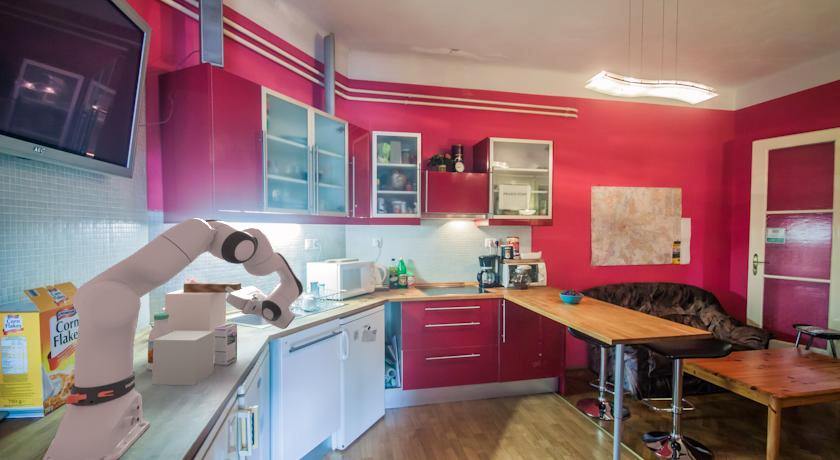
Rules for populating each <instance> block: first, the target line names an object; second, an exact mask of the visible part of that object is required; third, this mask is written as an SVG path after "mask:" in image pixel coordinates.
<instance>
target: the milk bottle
mask: <svg viewBox="0 0 840 460" xmlns="http://www.w3.org/2000/svg"><path fill="white" fill-rule="evenodd" d="M168 319H169V314H168V313H165V312H163V313H156V314H154V315H153V321H154V323H153V327H152V328H151V330H150V332H149V335H148V339H147V340H148V341H147V342H148V343H147V370H148V371H152V372H153V340H154V339H157V338H159V337H162V336H164V335H166V334H169V333H171V332H173V331H172V329H171V327H170V326H169V323H168Z"/></svg>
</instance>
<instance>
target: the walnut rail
mask: <svg viewBox="0 0 840 460" xmlns="http://www.w3.org/2000/svg"><path fill="white" fill-rule="evenodd" d="M227 286H230V287H232V289H233V290H236V291H238V290H241V287H242V283H241V282H186V283H183V289H184V292H216V293H226V294H229V292H227V291H226V290H225V288H226V287H227Z"/></svg>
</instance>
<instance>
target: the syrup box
mask: <svg viewBox="0 0 840 460" xmlns="http://www.w3.org/2000/svg"><path fill="white" fill-rule="evenodd" d="M237 360H238V324H236V323H226V324H224V325H221V326H218V327H215V328H214V365H221V366H222V365H223V366H228V365H229V364H231V363H233V362H235V361H237Z"/></svg>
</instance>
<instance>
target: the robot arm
mask: <svg viewBox="0 0 840 460" xmlns="http://www.w3.org/2000/svg"><path fill="white" fill-rule="evenodd" d="M204 253H209V254H210V255H212V256H214V257H215V258H218V259H221V260H224V261H225V262H227V263H230V264H236V265H240V264H242V266H243V267H244V269H245V271H246V272H247V273H248V274H250V275H253V276H255V277H266V276H268V275H272V273H277V274H278V277H280V280H279V282H278V284H277V285H276V286H274V288H273V289H272V291H270V292H269V293H268V294H265V293H264V292H263V291H262V290H261V289H259V288H258V287H256V286H254V285H250V286H247V287H244V286H241V290H238V291H236V290H233V289H232V287H230V286H227V287H226V288H225V290H226V291H227V292H229V293H228V295H227V296H226V303H228V304H229V305H230V306H232V307H234V308H235V309H237V310H239V311H241V313H242V314H244V315H245V316H246V315H247V316H248V315H251V316H252V315H254V316H256V317H259V318H262V319H263V320H265V322H266V323H268V324H270V325H271V326H273V327H276V328H278V329H281V330H284V329H286V328H288V327H289V326H290V324H291V323H292V322H293V321H294V320H295V317H296V314H295V313H294V312H293V311H292V310H290V307H291V306H292V304H294V302H295V301H296V300H297V299H298V298H299V297H300V296H301V295H302V294H303V292H304V287H303V284H302V282H301V281H300V279H299V278H298V277H297V276H296V274H295V273H294V271H293V269H292V268H291V266H290V265H289V263H288V261H287V260H286V258H285V257H284V256H283V255H282V254H281V253H280V252H277V251H274V249H273V247H272V245H271V242H270V241H269V239H268V237H267V236H266V234H265V233H264V231H263V230H262V229H261V228H259V227H257V226H249V227H246V228H242V229H240V228H239V227H236V226H235V225H234V224H231V223H228V222H225V221H221V220H220V219H215V218H207V219H204V220H203V219H200V218H198V217H191V218H187V219H184V221H181V222H179V223H177V224H176V225H174V226H172V227H170V228H169V229H167V230H165V231H164V232H162V233H161V234H159V235H158V236H156V237H155V238H153V239H152V240H151V241H149V242H148V243H147V244H145V245H143V246H142V247H141V248H140V249H138V250H137V251H135V252H133V253H132V254H131V255H129V256H127V257H126V258H124V259H122V260H121V261H119V262H117V263H116V264H113V265H112V266H111V267H108V268H107V269H105V270H104V271H102V272H100V273H99V274H97V275H96V276H94V277H93V278H91V279H89V280H88V281H87V282H85V283H83V284H82V285H81V286H79V288H77V290H76V291H75V293H74V295H73V297H72V305H73V309H74V310H75V311H76V313H77V314H78V329H77V338H76V346H75V350H74V371H73V372H74V374H73V377H74V378H73V379H74V380H73V383H72V384H71V388H70V392H69V394H68V395H66V399H65V403H66V408H65V410H64V413H63V416H62V418H61V421H60V424H59V425H58V427H57V430H56V432H55V433H56V434H55V436H54V438H53V439H52V441H51V442H50V445H49V446H48V448H47V450H46V452H45V454H44V455H43V458H42V460H118V459H119V458H121V457H122V455H124V454H125V453H126V451H127V450H128V449H129V448H130V447H131V446H132V445H133V444H134V443H135V442H136V441H137V440H138V439H139V438H140V437H141V435H143V433H144V432H145V431H146V430H148V429H149V427H150V426H151V424H150V421H149V420H146V419H143V418H144V417H143V400H142V399H143V398H142V394H140V393H139V392H138V391H137V390H136V389H135V387H136V373H135V371H134V348H135V347H134V345H135V337H136V332H137V327H138V323H139V322H138V321H139V315H140V310H141V307H142V306H141V298H142V297H144V296H145V295H147V294H149V293H150V292H152V291H154V290H156V289H157V288H158V287H161V286H163V285H165V284H167V283H168V282H169V281H171V280H172V279H173V278H174V277H175V276H177V275H178V274H179V273H180V272H182V271H183V270H184V269H185V268H187V267H188V266H189V265H190V264H192V263H193V262H194V261H196V259H198V258H199V257H200V256H201V255H202V254H204Z"/></svg>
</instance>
